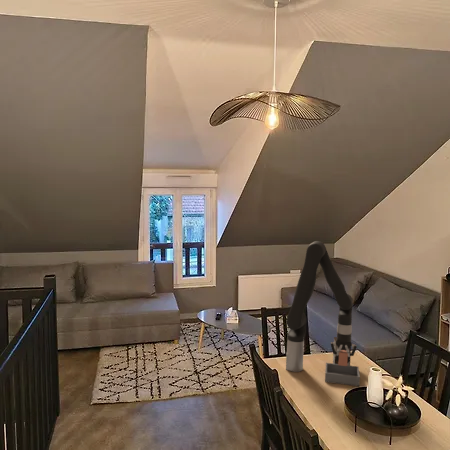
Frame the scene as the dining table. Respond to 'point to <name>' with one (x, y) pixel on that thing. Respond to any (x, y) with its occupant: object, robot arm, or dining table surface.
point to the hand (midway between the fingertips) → (342, 361)
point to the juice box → (343, 358)
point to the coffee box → (336, 351)
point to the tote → (342, 374)
